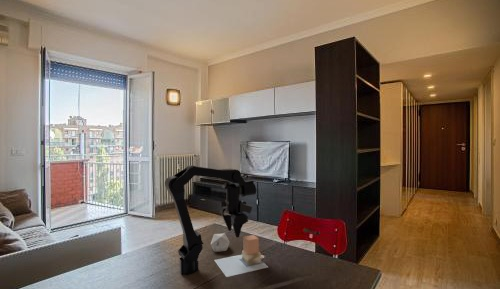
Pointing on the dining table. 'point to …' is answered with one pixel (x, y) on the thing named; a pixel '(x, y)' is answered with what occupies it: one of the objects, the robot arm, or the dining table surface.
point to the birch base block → (251, 258)
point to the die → (220, 242)
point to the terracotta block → (251, 244)
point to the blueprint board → (237, 265)
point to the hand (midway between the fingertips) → (233, 233)
